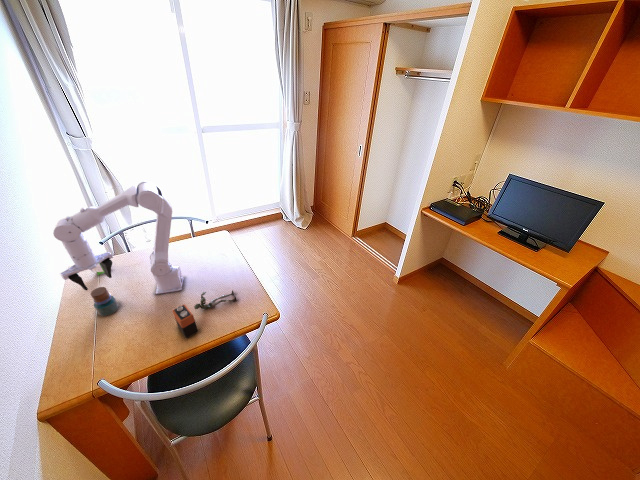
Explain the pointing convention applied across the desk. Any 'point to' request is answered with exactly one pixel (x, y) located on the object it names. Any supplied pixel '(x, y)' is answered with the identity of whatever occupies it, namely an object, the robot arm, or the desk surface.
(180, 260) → the desk surface
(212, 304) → the zombie figurine
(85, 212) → the robot arm
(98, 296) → the brown short cylinder
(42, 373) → the desk surface
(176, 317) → the battery
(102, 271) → the geometric puzzle
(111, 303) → the ink bottle
